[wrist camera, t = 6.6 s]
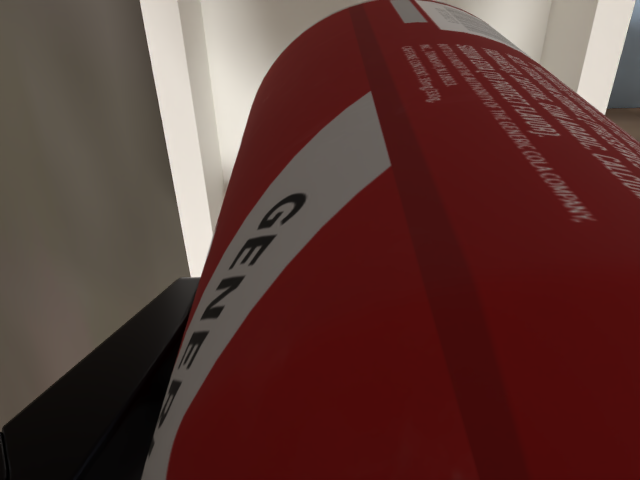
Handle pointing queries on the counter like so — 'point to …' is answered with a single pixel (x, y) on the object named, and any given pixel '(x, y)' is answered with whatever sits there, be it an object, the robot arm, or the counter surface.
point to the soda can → (414, 270)
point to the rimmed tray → (279, 31)
